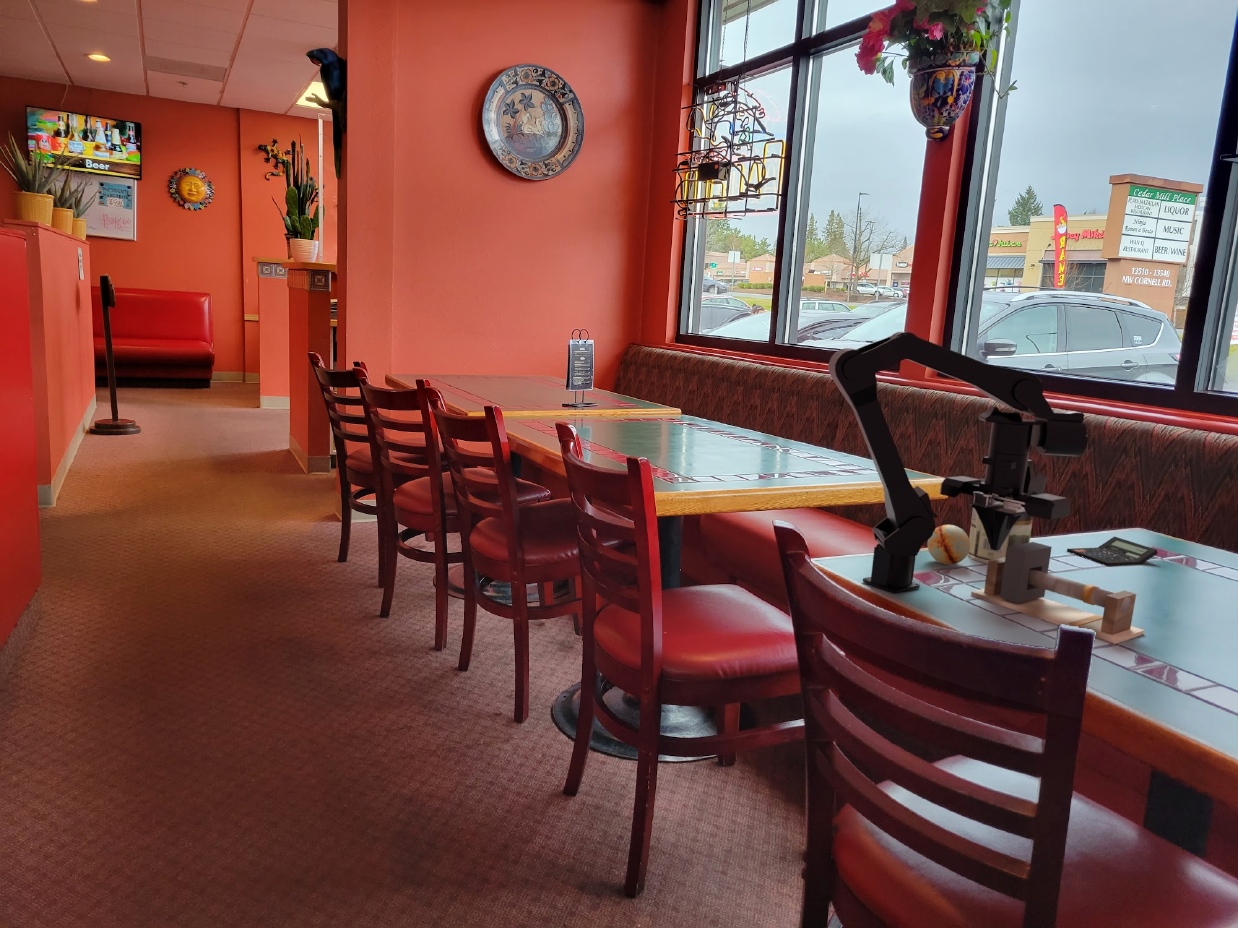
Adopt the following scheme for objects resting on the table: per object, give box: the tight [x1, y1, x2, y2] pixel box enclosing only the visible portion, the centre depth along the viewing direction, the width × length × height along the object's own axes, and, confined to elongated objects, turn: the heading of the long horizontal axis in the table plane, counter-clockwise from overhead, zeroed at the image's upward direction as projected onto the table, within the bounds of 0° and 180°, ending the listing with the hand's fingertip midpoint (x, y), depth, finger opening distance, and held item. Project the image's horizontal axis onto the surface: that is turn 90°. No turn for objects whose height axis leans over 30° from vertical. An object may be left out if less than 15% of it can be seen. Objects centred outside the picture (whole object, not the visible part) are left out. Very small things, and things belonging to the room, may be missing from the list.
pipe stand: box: [970, 557, 1145, 645], centre depth 127 cm, size 22×8×6 cm, turn 34°
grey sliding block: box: [1000, 541, 1052, 603], centre depth 131 cm, size 3×7×8 cm, turn 124°
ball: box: [926, 524, 970, 566], centre depth 151 cm, size 7×7×7 cm
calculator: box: [1066, 536, 1159, 567], centre depth 162 cm, size 9×12×3 cm
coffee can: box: [966, 477, 1034, 565], centre depth 156 cm, size 10×10×14 cm
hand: (995, 549), depth 135 cm, fingers closed
